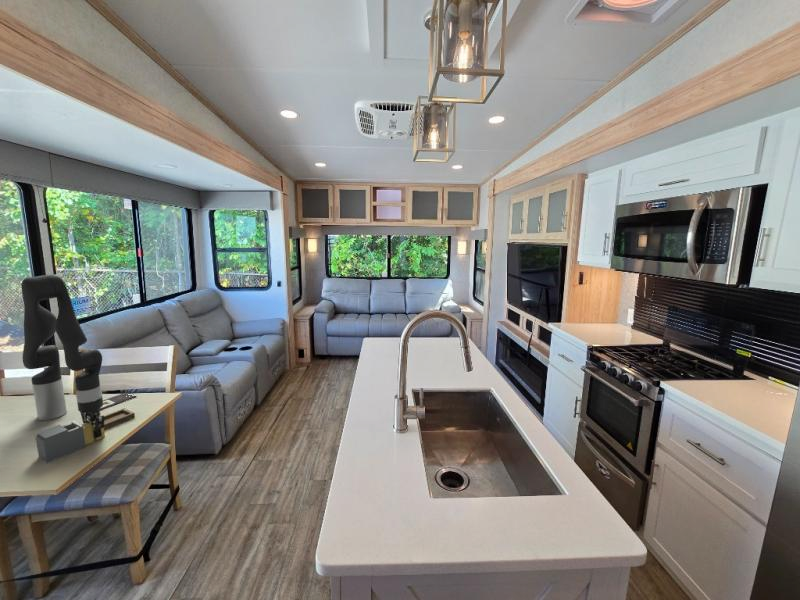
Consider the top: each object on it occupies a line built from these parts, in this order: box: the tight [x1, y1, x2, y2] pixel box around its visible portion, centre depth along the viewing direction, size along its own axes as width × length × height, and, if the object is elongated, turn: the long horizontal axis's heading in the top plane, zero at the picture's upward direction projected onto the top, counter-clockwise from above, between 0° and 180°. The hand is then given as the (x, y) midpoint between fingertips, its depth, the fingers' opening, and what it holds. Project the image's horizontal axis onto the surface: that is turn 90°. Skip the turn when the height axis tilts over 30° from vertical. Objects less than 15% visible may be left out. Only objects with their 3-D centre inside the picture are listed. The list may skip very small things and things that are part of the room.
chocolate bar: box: [99, 392, 137, 411], centre depth 165 cm, size 9×1×18 cm
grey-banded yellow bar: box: [83, 421, 106, 446], centre depth 133 cm, size 4×13×7 cm, turn 155°
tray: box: [76, 407, 136, 431], centre depth 147 cm, size 8×18×2 cm, turn 155°
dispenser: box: [34, 420, 87, 464], centre depth 127 cm, size 7×11×10 cm, turn 155°
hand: (94, 434), depth 137 cm, fingers open, 5 cm apart
